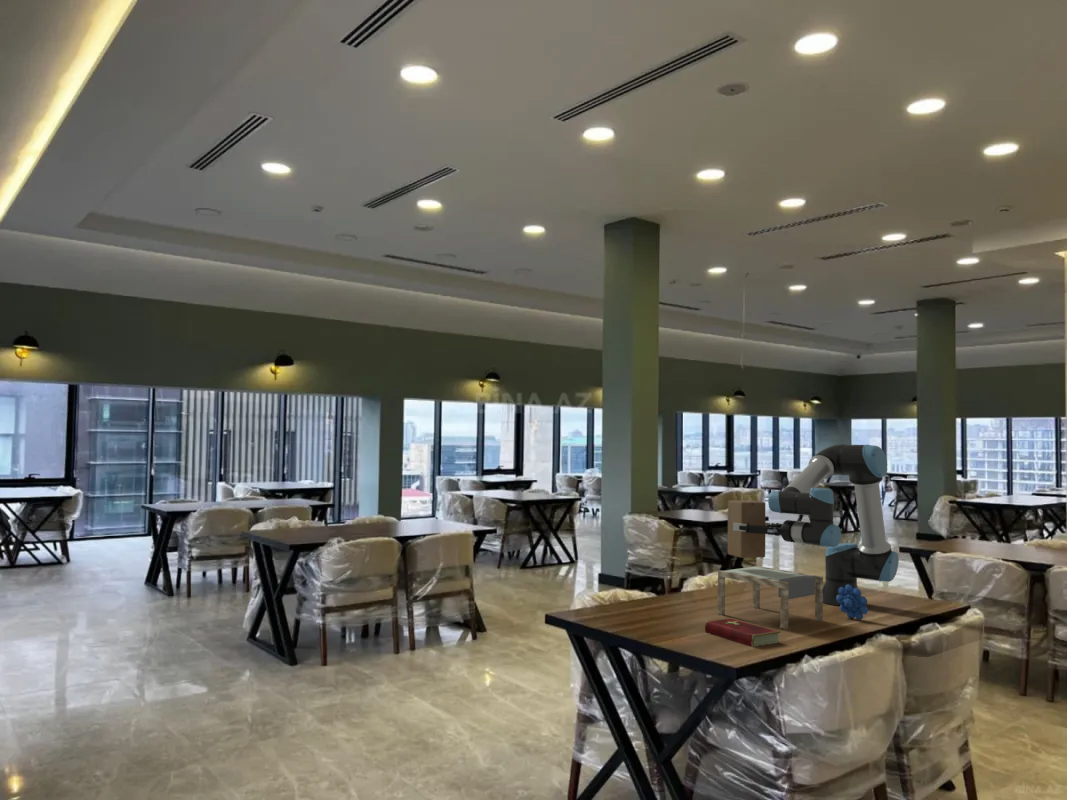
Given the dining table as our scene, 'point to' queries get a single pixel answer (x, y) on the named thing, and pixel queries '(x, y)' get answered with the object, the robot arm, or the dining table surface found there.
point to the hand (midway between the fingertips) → (744, 525)
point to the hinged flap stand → (774, 583)
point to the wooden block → (742, 541)
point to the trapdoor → (797, 583)
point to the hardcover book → (741, 632)
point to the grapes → (852, 602)
